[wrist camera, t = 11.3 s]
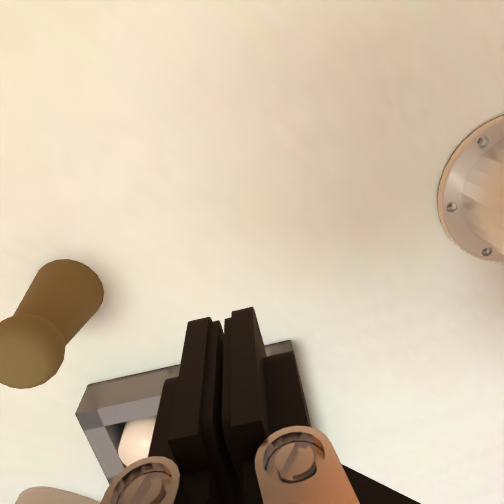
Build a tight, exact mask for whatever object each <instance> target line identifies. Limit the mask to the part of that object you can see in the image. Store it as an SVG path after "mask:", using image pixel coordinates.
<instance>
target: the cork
mask: <svg viewBox="0 0 504 504" xmlns="http://www.w3.org/2000/svg"><path fill="white" fill-rule="evenodd" d="M103 294H104V292H103V287H102V283H101V281H100V280H99V278H98V276H97V275H96V274H95V273H94V272H93V271H92V270H91V269H90V268H89V267H87V266H86V265H84V264H82V263H80V262H77V261H72V260H68V259H65V260H55V261H52V262H50V263H47V264H46V265H44V266H43V267H42V268H41V269H40V270H39V271H38V273H37V275H36V276H35V278H34V280H33V282H32V284H31V285H30V287H29V289H28V291H27V292H26V294H25V296H24V298H23V300H22V301H21V303H20V305H19V307H18V308H17V310H16V312H15V314H14V315H13V316H12V317H10V318H7V319H5V320H3V321H1V322H0V383H2V384H4V385H6V386H9V387H13V388H18V389H24V388H32V387H35V386H38V385H41V384H44V383H45V382H46V381H48V380H49V379H50V378H51V377H53V376H54V375H55V374H56V373H57V371H58V369H59V368H60V366H61V364H62V362H63V360H64V353H65V346H66V345H67V344H68V342H69V341H70V340H71V339H72V338H73V337H74V336H75V335H76V334H77V332H78V331H79V330H80V329H81V328H82V327H83V326H84V325H85V324H86V322H87V321H88V320H89V319H90V318H91V317H92V316H93V315H94V314H95V312H96V311H97V310H98V309H99V307H100V305H101V303H102V300H103Z"/></svg>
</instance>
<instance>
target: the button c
mask: <svg viewBox="0 0 504 504" xmlns="http://www.w3.org/2000/svg"><path fill="white" fill-rule="evenodd" d="M156 416H157V415H154V416H150V417H145V418H140V419H136V420H131V421H127V422H126V424H125V427H124V431H123V434H122V437H121V441H120V444H119V448H118V454H119V458H120V459H121V461H122V462H123V463H124V464H125V465H126V466H127V467H128V466H129V465H130V464H132V463H134V462H136V461H138V460H141V459H143V458H147V457H148V453H149V449H150V444H151V440H152V435H153V430H154V426H155V421H156Z"/></svg>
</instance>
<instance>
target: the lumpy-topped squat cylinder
mask: <svg viewBox="0 0 504 504" xmlns="http://www.w3.org/2000/svg"><path fill="white" fill-rule="evenodd" d="M15 504H100V502H98V501H95V500H93V499H90V498H88V497H85V496H82V495H79V494H75V493H72V492H68V491H64V490H60V489H56V488H51V487H33V488H29V489H26V490H24V491H23V492H22V493H21V494H20V495H19V497H18V499H17V501H16V503H15Z"/></svg>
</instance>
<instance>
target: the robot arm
mask: <svg viewBox="0 0 504 504" xmlns="http://www.w3.org/2000/svg"><path fill="white" fill-rule="evenodd" d="M479 139H480V142H479V143H478V140H479ZM449 203H450V205H449V206H448V207H447V205H448V204H449ZM438 212H439V216H440V220H441V223H442V225H443V227H444V229H445V231H446V233H447V234H448V236H449V237H450V238H451V239H452V241H453V242H454V243H455V244H457V245H458V246H459V247H460V248H461V249H462V250H464V251H466V252H467V253H469V254H471V255H472V256H474V257H477V258H480V259H482V260H487V261H495V262H504V115H502V116H500V117H498V118H496V119H493V120H491V121H489V122H487V123H486V124H484V125H483V126H481V127H480V128H478V129H477V130H475V131H474V132H473V133H472V134H471V135H470V136H468V137H467V138H466V139H465V140H464V141H463V142H462V143H461V145H460V146H459V147H458V148H457V150H456V151H455V152H454V153H453V155H452V157H451V158H450V160H449V162H448V164H447V165H446V167H445V170H444V172H443V175H442V178H441V181H440V185H439V191H438ZM100 504H420V503H418V502H416V501H414V500H412V499H410V498H408V497H406V496H404V495H402V494H400V493H398V492H396V491H394V490H392V489H390V488H388V487H386V486H384V485H382V484H380V483H378V482H376V481H374V480H372V479H370V478H368V477H366V476H364V475H362V474H360V473H358V472H356V471H354V470H352V469H350V468H348V467H346V466H344V465H342V464H341V463H340V460H339V458H338V456H337V454H336V452H335V450H334V448H333V446H332V444H331V442H330V441H329V439H328V438H327V437H326V435H325V434H323V433H322V432H320V431H319V430H317V429H314V428H311V424H310V420H309V415H308V410H307V406H306V401H305V397H304V393H303V388H302V384H301V380H300V376H299V372H298V368H297V364H296V360H295V356H294V352H293V351H288V352H284V353H279V354H275V355H271V356H267V355H266V351H265V347H264V344H263V340H262V336H261V333H260V329H259V325H258V322H257V318H256V314H255V311H254V308H253V307H250V308H245V309H241V310H237V311H232V317H231V318H227V319H225V325H224V333H223V329H222V326H221V323H220V321H219V320H218V321H214V322H212V320H211V318H210V317H206V318H202V319H198V320H193V321H189V322H188V324H187V330H186V336H185V342H184V347H183V353H182V359H181V365H180V370H179V376H177V377H173V378H168V379H166V380H165V382H164V384H163V389H162V393H161V398H160V403H159V407H158V412H157V416H156V421H155V426H154V430H153V435H152V440H151V444H150V449H149V453H148V457H147V458H143V459H141V460H138V461H136V462H134V463H132V464H130V465H129V466H128V467H126V468H125V469H123V470H122V471H121V472H120V473H119V474H118V475H117V476H116V477H115V478H114V479H113V480H112V482H111V484H110V485H109V487H108V489H107V490H106V492H105V494H104V497H103V499H102V501H101V503H100Z"/></svg>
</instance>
